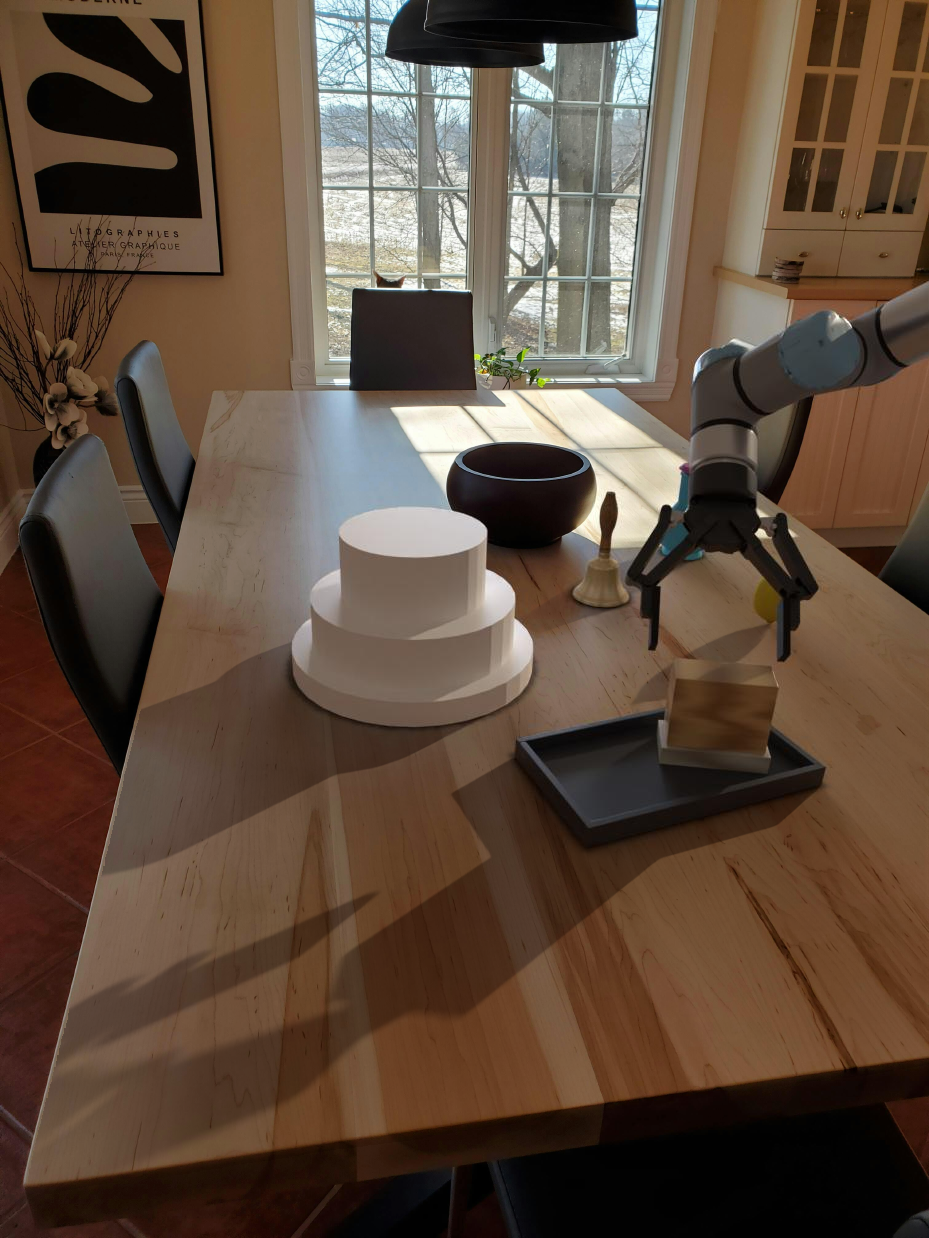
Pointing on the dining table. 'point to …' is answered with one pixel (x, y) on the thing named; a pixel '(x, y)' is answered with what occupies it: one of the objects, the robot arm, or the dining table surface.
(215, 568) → the dining table surface
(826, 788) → the dining table surface
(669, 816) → the tray
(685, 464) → the perfume bottle
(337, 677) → the cake
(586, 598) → the hand bell
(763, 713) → the eraser
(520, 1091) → the dining table surface
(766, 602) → the lemon
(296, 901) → the dining table surface
